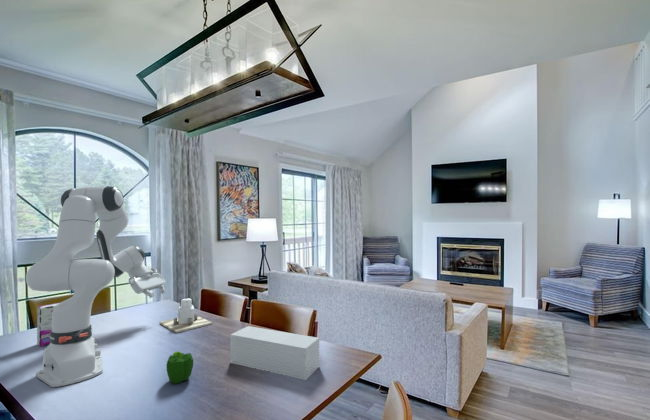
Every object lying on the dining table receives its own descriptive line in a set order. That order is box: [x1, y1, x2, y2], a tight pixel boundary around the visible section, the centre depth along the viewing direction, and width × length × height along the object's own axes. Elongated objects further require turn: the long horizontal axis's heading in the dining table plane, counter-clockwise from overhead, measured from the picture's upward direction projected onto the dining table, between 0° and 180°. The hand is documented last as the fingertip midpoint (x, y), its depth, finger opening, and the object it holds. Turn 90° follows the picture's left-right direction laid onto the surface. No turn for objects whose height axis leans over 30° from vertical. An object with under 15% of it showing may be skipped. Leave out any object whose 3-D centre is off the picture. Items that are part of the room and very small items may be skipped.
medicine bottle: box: [178, 296, 195, 324], centre depth 166 cm, size 7×7×12 cm
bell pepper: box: [166, 351, 194, 385], centre depth 108 cm, size 8×8×10 cm
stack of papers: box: [229, 325, 320, 381], centre depth 120 cm, size 32×11×11 cm, turn 66°
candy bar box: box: [36, 302, 60, 348], centre depth 142 cm, size 11×5×16 cm, turn 143°
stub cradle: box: [159, 313, 213, 334], centre depth 166 cm, size 20×18×4 cm
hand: (158, 294), depth 166 cm, fingers open, 8 cm apart
